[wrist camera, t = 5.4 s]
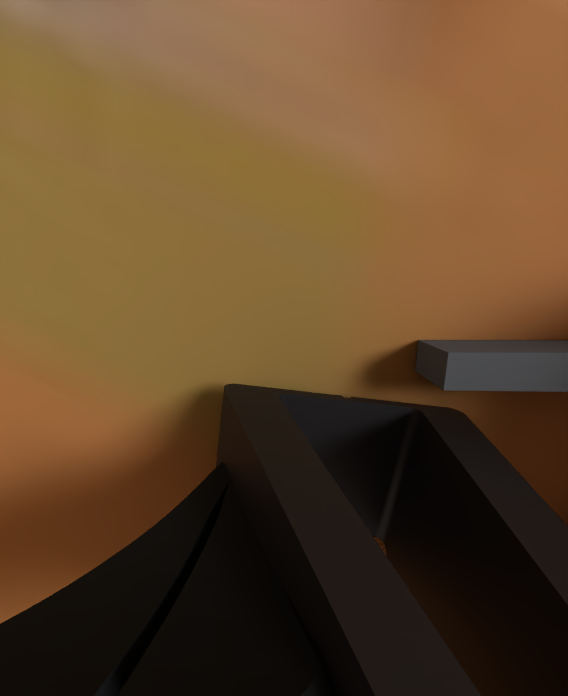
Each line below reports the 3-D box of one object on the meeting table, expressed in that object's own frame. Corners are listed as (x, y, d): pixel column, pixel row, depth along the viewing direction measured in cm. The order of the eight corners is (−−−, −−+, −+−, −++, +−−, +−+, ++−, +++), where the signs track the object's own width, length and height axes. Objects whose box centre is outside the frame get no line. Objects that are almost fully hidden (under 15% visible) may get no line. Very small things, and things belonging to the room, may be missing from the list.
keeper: (606, 562, 11) (669, 618, 10) (395, 554, 12) (415, 605, 10) (678, 340, 9) (778, 353, 7) (418, 340, 10) (448, 352, 8)
